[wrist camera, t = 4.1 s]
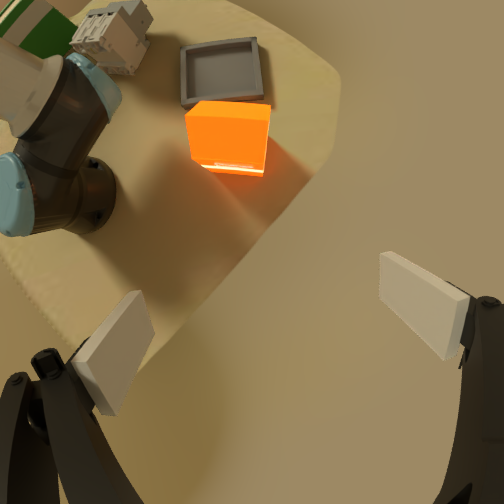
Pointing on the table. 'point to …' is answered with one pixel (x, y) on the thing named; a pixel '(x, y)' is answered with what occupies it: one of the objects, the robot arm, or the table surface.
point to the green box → (36, 28)
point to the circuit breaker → (115, 36)
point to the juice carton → (229, 136)
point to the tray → (220, 72)
